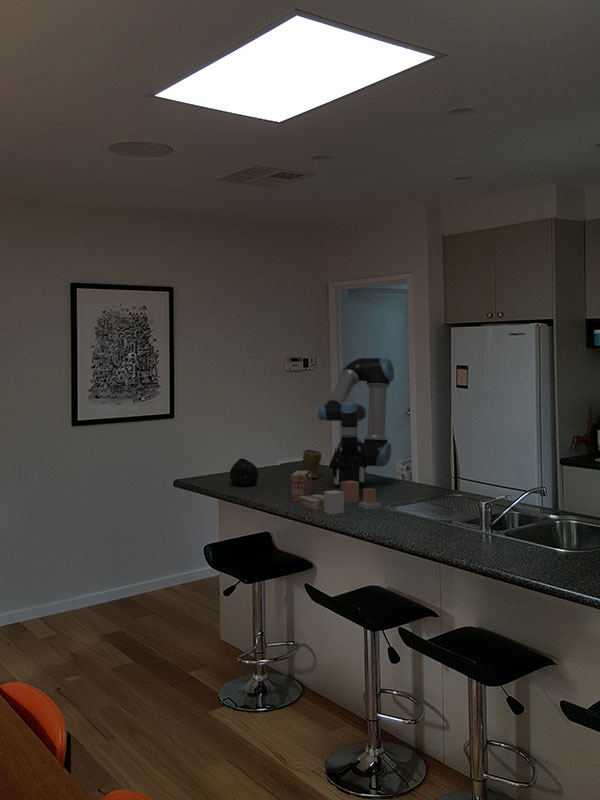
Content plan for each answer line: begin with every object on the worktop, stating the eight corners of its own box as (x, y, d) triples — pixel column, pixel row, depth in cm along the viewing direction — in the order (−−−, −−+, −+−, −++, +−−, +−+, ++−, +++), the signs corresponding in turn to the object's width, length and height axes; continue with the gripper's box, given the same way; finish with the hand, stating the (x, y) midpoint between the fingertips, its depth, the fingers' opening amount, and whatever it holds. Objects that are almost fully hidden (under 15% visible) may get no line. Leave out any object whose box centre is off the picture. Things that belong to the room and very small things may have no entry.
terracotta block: (351, 499, 348) (351, 480, 347) (358, 501, 342) (358, 482, 342) (340, 501, 345) (340, 481, 344) (347, 503, 340) (347, 483, 339)
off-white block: (336, 511, 324) (335, 490, 323) (343, 513, 318) (343, 492, 318) (324, 512, 321) (323, 491, 320) (331, 515, 316) (331, 493, 315)
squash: (259, 471, 397) (240, 451, 393) (267, 477, 383) (247, 456, 379) (239, 490, 395) (220, 470, 390) (246, 496, 381) (227, 476, 376)
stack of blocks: (299, 492, 367) (299, 467, 366) (312, 492, 366) (312, 467, 365) (291, 501, 346) (291, 474, 345) (304, 501, 345) (304, 474, 344)
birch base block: (320, 502, 341) (320, 494, 341) (334, 507, 330) (334, 498, 330) (297, 505, 335) (297, 496, 335) (310, 510, 324) (310, 501, 324)
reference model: (371, 505, 334) (371, 487, 334) (381, 508, 328) (380, 489, 328) (358, 507, 331) (358, 488, 331) (367, 509, 325) (367, 491, 324)
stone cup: (324, 479, 404) (324, 451, 403) (303, 480, 400) (303, 452, 399) (315, 474, 418) (314, 447, 417) (294, 476, 415) (294, 448, 414)
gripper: (367, 434, 351) (367, 479, 352) (321, 436, 339) (321, 483, 340) (376, 435, 345) (376, 481, 346) (330, 438, 332) (330, 486, 333)
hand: (349, 482), depth 343 cm, fingers open, 13 cm apart
